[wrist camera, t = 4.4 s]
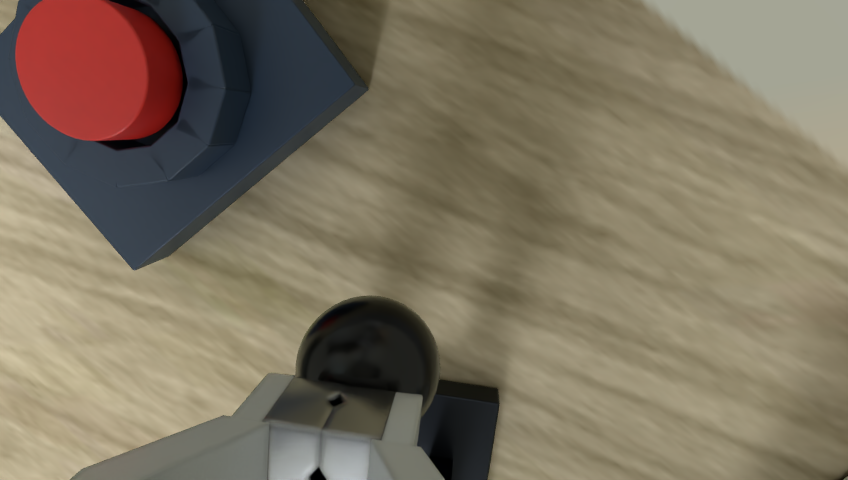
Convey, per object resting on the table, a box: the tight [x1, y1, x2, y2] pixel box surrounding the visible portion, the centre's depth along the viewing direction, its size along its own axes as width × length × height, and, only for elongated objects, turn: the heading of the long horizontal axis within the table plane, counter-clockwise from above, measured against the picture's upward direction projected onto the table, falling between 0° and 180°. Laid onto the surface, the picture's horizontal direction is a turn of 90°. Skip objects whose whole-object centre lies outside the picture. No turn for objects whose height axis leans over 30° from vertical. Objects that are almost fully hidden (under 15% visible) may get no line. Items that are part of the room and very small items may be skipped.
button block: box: [0, 0, 368, 270], centre depth 17 cm, size 11×9×4 cm
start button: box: [15, 0, 183, 141], centre depth 15 cm, size 4×4×2 cm
